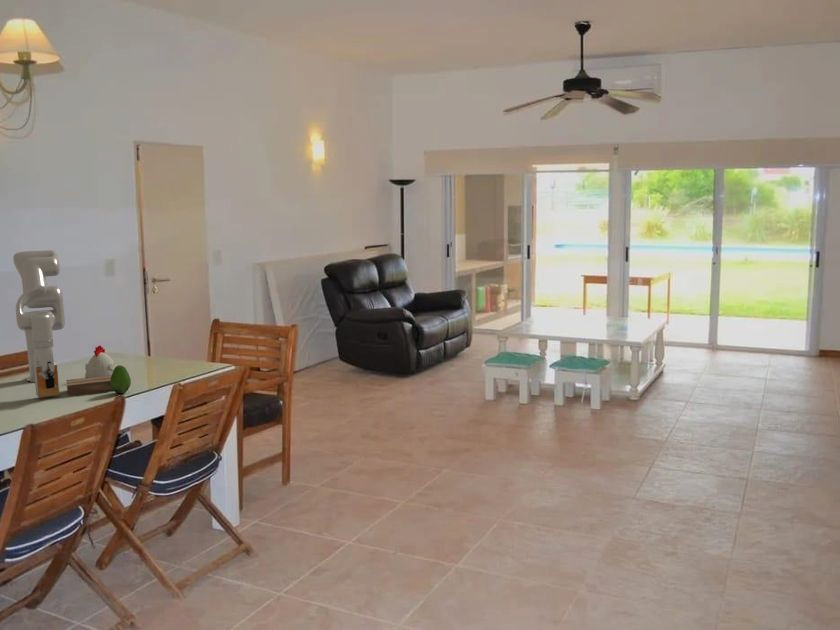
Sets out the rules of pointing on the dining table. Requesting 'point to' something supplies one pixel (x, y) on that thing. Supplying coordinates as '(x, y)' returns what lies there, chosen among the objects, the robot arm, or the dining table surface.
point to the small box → (41, 382)
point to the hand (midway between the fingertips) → (47, 385)
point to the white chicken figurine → (99, 364)
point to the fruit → (120, 380)
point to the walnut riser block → (88, 385)
